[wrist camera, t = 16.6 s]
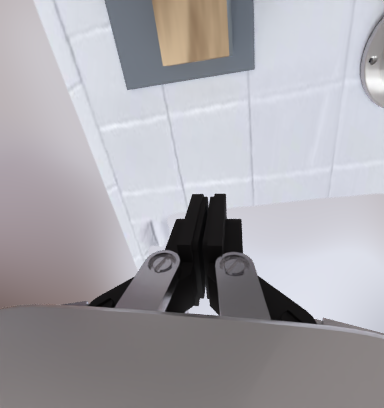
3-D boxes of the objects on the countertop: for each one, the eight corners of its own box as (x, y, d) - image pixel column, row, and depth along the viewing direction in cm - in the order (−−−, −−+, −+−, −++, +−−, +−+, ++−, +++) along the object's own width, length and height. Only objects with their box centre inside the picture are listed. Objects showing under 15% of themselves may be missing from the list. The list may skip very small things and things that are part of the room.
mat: (251, -94, 23) (251, -97, 23) (254, 69, 30) (254, 69, 30) (93, -49, 26) (91, -51, 26) (128, 89, 33) (127, 89, 33)
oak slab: (152, -40, 26) (227, -58, 24) (169, 65, 31) (232, 55, 29) (142, -54, 23) (227, -76, 21) (162, 66, 28) (233, 54, 26)
